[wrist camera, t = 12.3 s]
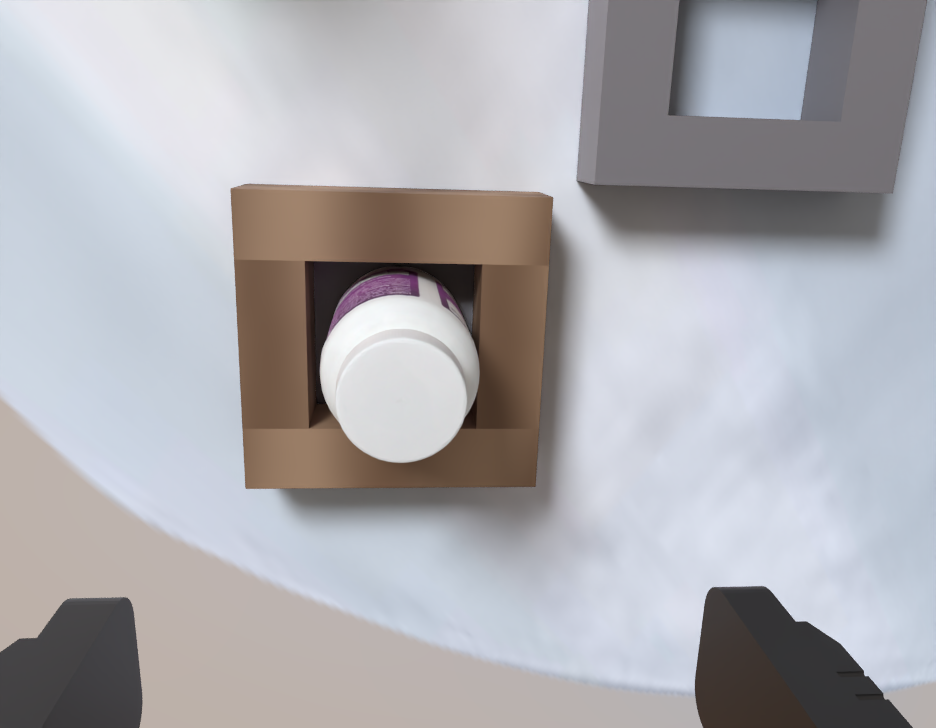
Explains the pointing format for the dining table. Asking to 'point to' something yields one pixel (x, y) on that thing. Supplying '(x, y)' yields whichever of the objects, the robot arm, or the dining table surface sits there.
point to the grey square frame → (746, 139)
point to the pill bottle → (399, 365)
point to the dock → (391, 241)
